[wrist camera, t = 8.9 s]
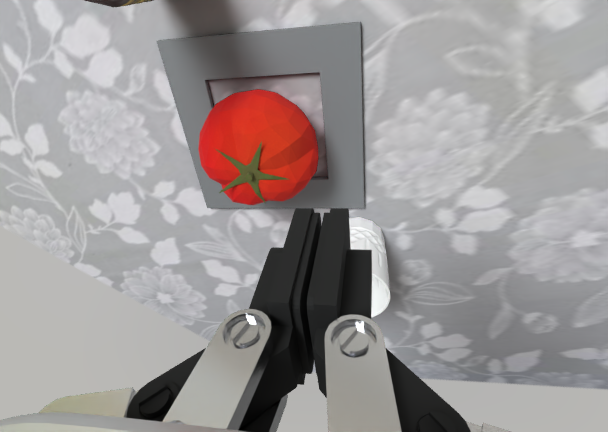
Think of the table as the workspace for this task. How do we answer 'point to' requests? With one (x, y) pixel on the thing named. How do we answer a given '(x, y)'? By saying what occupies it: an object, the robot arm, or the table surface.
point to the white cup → (373, 259)
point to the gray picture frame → (279, 61)
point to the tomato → (258, 147)
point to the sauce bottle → (117, 2)
